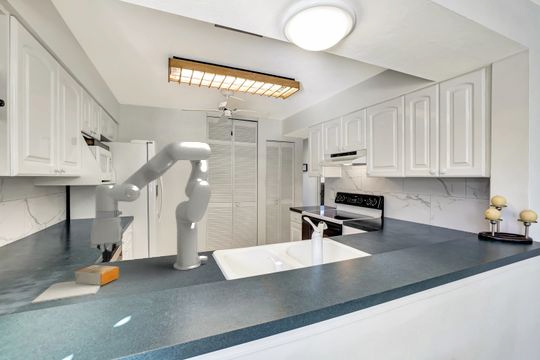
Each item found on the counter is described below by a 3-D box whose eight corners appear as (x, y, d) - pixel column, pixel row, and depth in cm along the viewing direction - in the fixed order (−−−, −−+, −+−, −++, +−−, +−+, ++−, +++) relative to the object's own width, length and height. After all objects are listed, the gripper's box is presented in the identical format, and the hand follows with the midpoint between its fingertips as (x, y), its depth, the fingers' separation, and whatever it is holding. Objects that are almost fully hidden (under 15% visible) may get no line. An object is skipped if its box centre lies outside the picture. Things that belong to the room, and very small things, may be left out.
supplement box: (102, 273, 93) (74, 271, 95) (102, 285, 93) (74, 283, 95) (119, 266, 101) (93, 264, 103) (119, 277, 101) (93, 275, 103)
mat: (106, 278, 102) (106, 276, 102) (95, 294, 87) (95, 292, 87) (53, 285, 95) (53, 283, 95) (31, 304, 80) (31, 302, 80)
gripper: (129, 212, 102) (130, 255, 102) (87, 215, 96) (87, 260, 96) (126, 215, 95) (126, 261, 95) (80, 217, 89) (81, 266, 89)
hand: (107, 260), depth 95 cm, fingers closed
